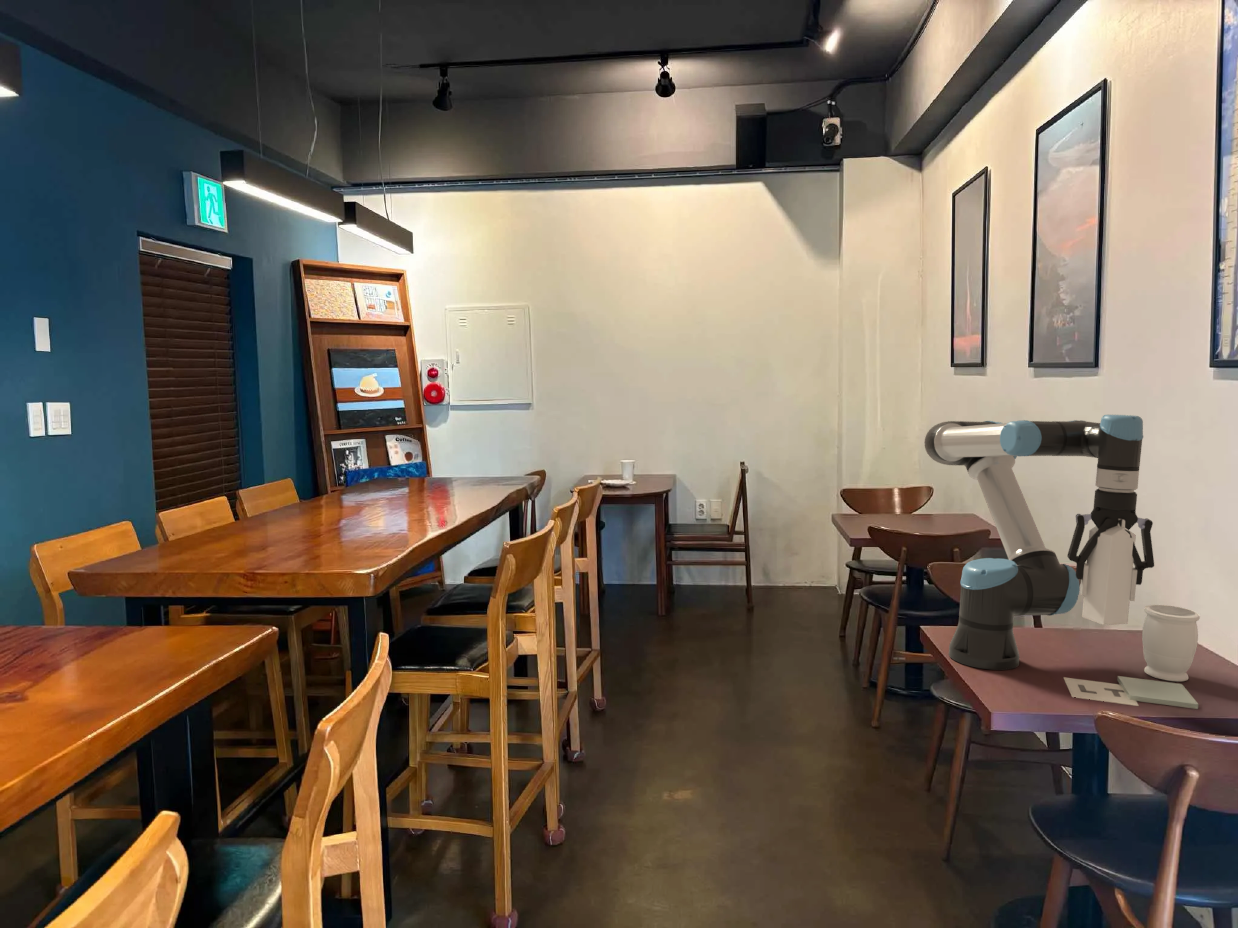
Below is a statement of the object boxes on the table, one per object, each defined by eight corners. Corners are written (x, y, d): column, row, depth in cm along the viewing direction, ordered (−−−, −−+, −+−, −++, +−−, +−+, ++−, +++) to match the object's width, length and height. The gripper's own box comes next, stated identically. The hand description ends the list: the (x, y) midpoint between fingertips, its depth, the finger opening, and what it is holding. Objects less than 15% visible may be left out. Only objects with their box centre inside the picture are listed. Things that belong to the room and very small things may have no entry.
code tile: (1071, 701, 172) (1072, 696, 172) (1063, 681, 184) (1063, 676, 184) (1138, 710, 168) (1138, 705, 168) (1125, 689, 179) (1125, 684, 179)
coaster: (1129, 699, 171) (1130, 695, 171) (1117, 680, 183) (1117, 675, 182) (1198, 708, 167) (1198, 704, 167) (1181, 688, 178) (1181, 683, 178)
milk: (1105, 616, 178) (1114, 514, 176) (1128, 624, 172) (1138, 519, 170) (1081, 617, 177) (1090, 515, 174) (1103, 625, 171) (1113, 520, 168)
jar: (1195, 687, 179) (1201, 620, 177) (1138, 677, 184) (1144, 612, 183) (1192, 673, 188) (1198, 608, 186) (1138, 664, 193) (1144, 601, 192)
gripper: (1061, 488, 171) (1053, 595, 174) (1180, 495, 164) (1169, 607, 167) (1056, 484, 178) (1048, 587, 181) (1170, 490, 171) (1160, 598, 174)
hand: (1106, 596), depth 174 cm, fingers closed on milk, 8 cm apart
